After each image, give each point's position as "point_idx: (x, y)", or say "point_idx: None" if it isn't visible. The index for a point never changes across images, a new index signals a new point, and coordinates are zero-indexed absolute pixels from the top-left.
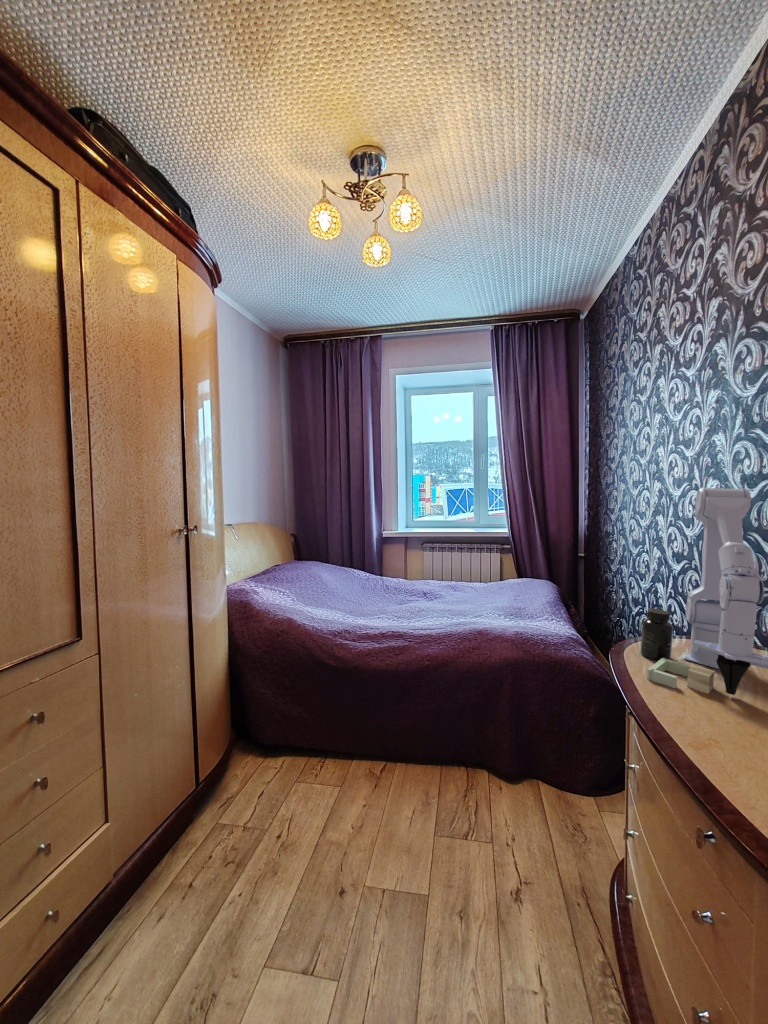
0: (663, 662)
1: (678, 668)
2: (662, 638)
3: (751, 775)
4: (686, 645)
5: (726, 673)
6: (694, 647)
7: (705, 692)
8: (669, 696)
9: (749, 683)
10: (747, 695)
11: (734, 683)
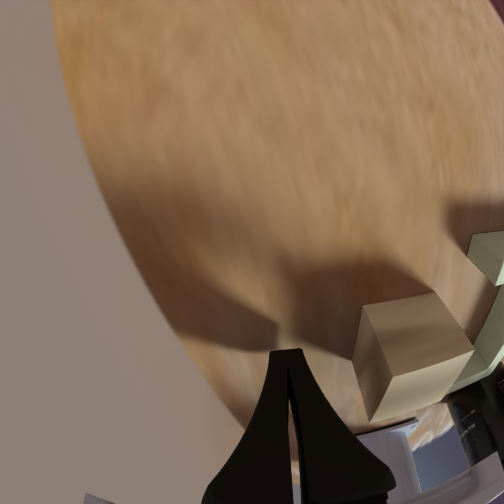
0: (500, 350)
1: None
2: (496, 426)
3: None
4: None
5: (321, 437)
6: (497, 468)
7: (374, 304)
8: (478, 126)
9: None
10: (248, 390)
11: (272, 400)
